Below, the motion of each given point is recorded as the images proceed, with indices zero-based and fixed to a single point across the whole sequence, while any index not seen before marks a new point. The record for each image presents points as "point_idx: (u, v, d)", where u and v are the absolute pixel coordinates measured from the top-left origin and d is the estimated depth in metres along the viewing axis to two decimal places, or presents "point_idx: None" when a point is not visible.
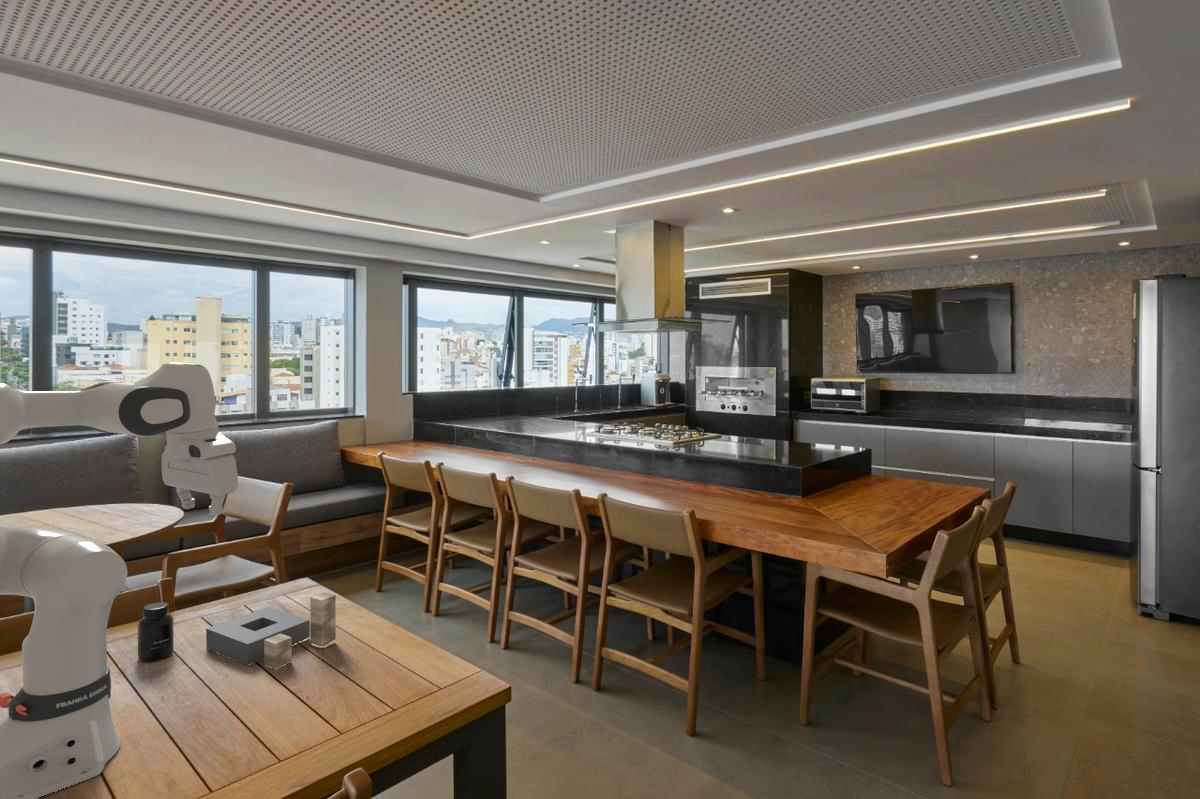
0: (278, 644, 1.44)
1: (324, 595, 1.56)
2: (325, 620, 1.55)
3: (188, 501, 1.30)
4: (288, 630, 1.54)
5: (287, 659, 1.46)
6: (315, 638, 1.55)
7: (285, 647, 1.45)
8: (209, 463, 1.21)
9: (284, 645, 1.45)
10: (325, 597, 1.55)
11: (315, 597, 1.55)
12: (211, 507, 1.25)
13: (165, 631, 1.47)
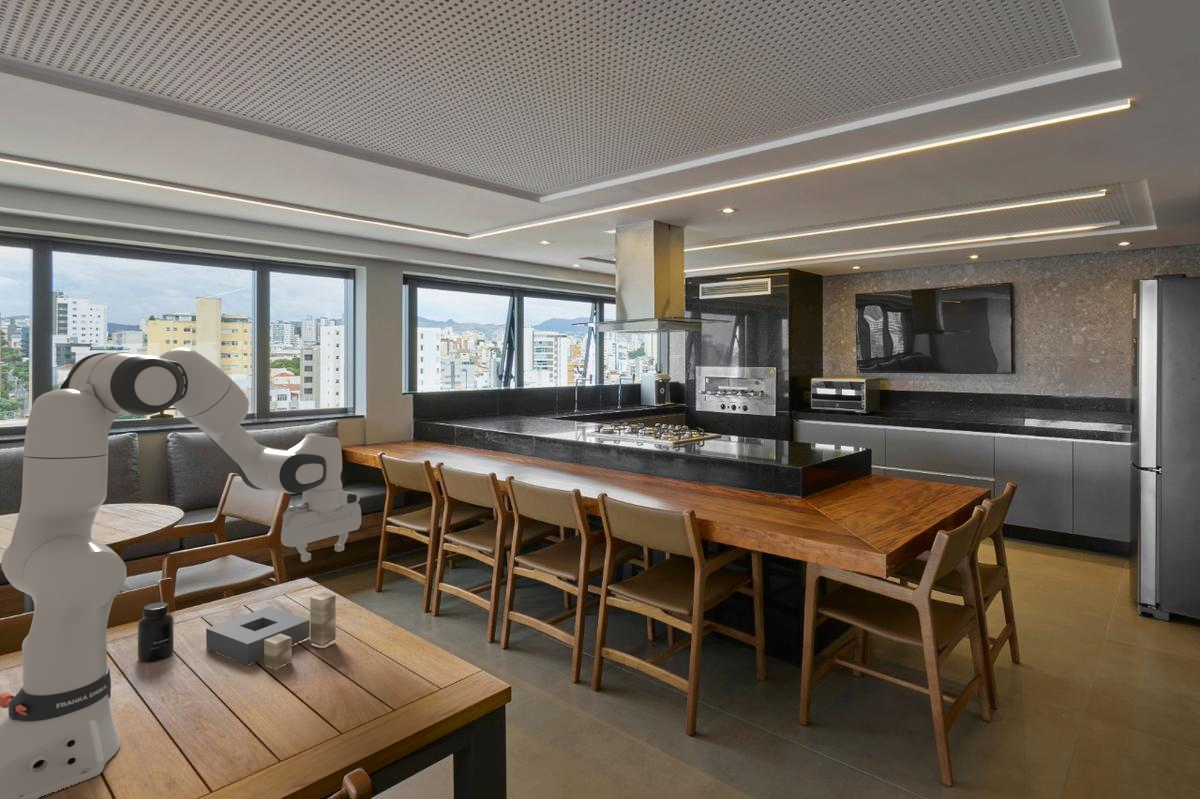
0: (278, 644, 1.44)
1: (324, 595, 1.56)
2: (325, 620, 1.55)
3: None
4: (288, 630, 1.54)
5: (287, 659, 1.46)
6: (315, 638, 1.55)
7: (285, 647, 1.45)
8: None
9: (285, 645, 1.45)
10: (325, 597, 1.55)
11: (315, 597, 1.55)
12: (342, 544, 1.59)
13: (165, 631, 1.47)
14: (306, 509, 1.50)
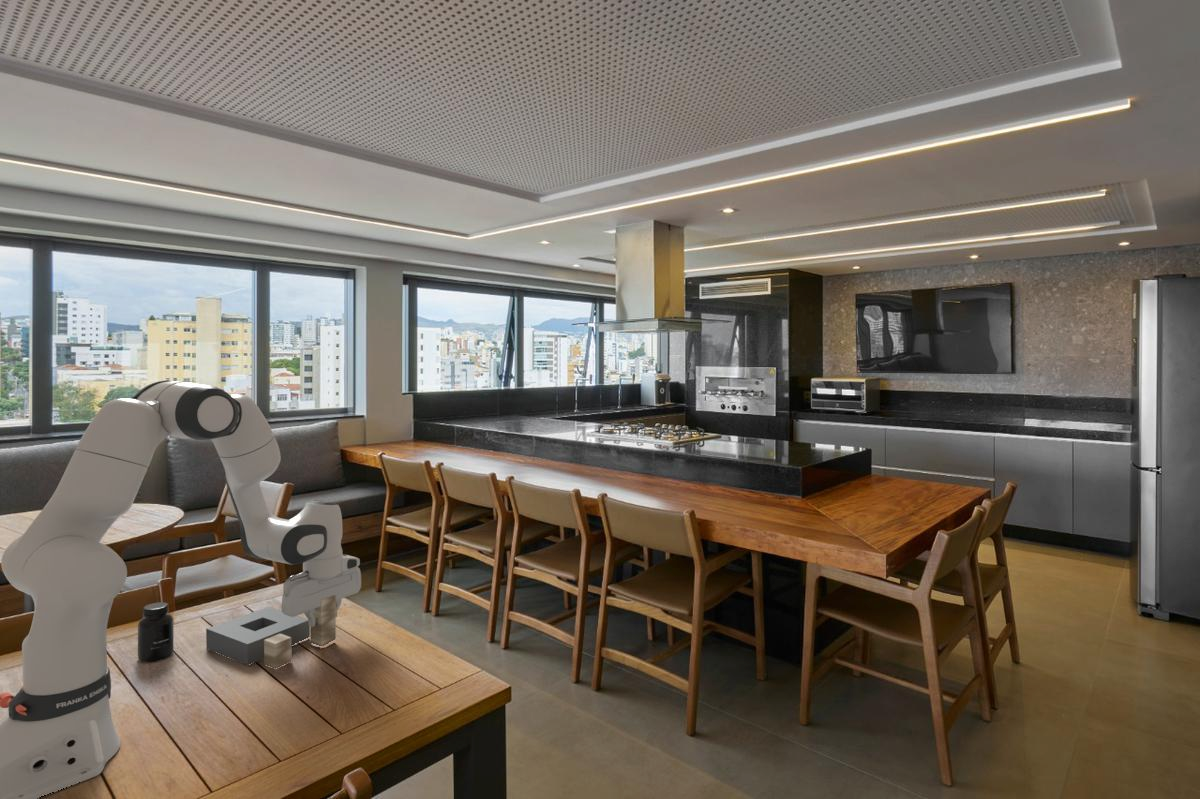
0: (278, 644, 1.44)
1: None
2: (325, 620, 1.55)
3: None
4: (288, 630, 1.54)
5: (287, 659, 1.46)
6: (315, 638, 1.55)
7: (285, 647, 1.45)
8: (358, 568, 1.62)
9: (284, 645, 1.45)
10: None
11: None
12: None
13: (165, 631, 1.47)
14: (306, 577, 1.51)
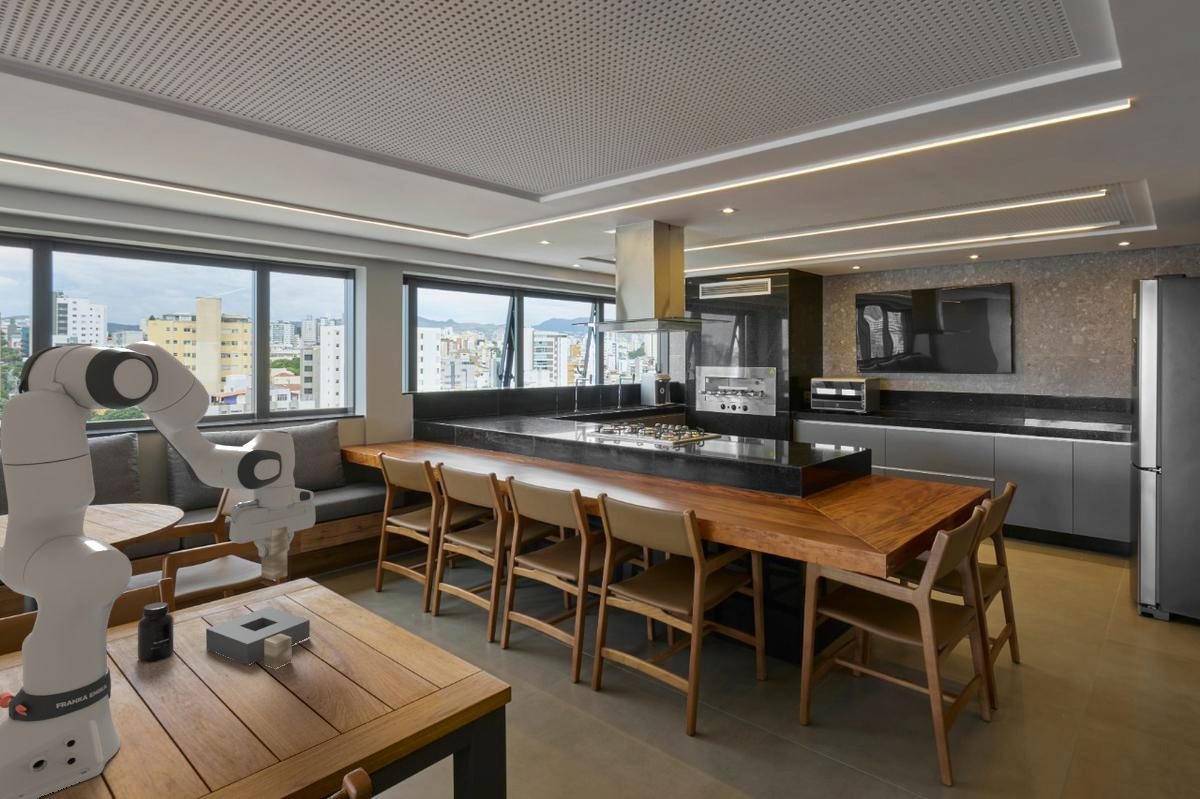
0: (278, 644, 1.44)
1: None
2: (276, 551, 1.53)
3: None
4: (288, 630, 1.54)
5: (287, 659, 1.46)
6: (266, 569, 1.53)
7: (285, 647, 1.45)
8: (312, 502, 1.60)
9: (284, 644, 1.45)
10: None
11: None
12: (287, 544, 1.56)
13: (165, 631, 1.47)
14: (256, 506, 1.50)
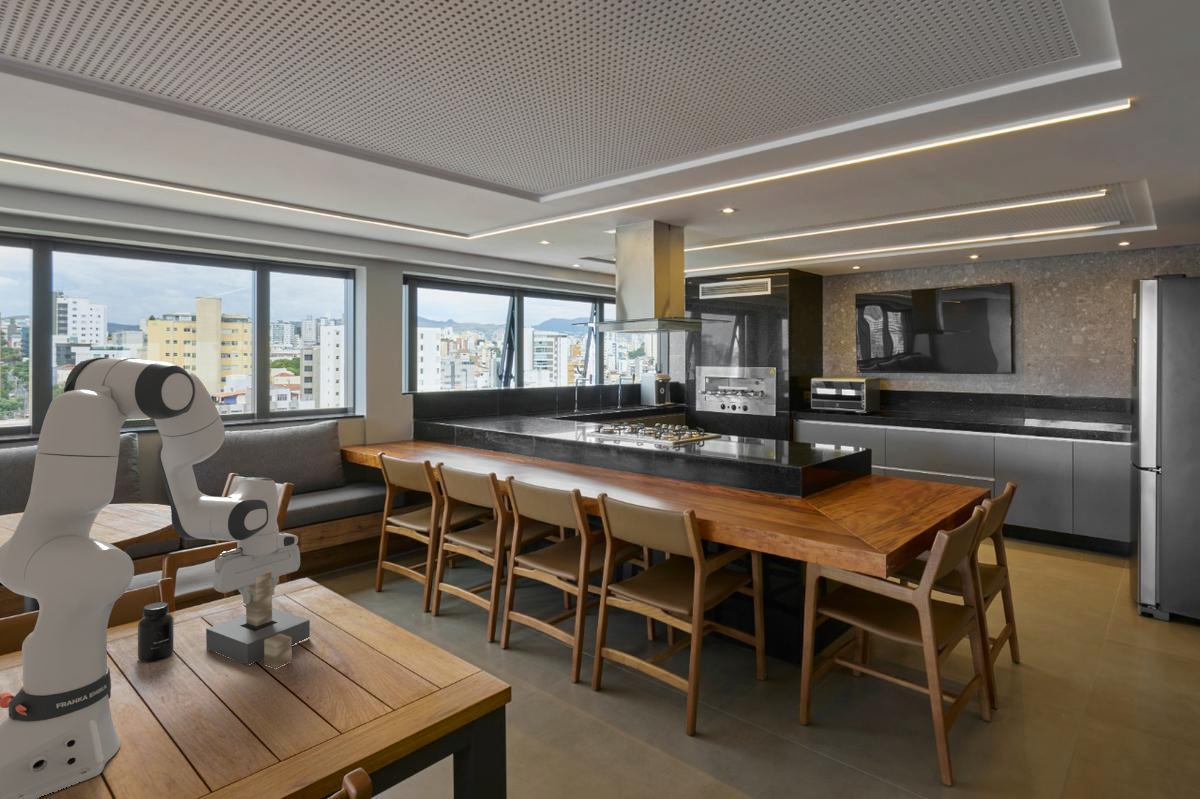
0: (278, 644, 1.44)
1: None
2: (261, 598, 1.54)
3: None
4: (288, 630, 1.54)
5: (287, 659, 1.46)
6: (250, 615, 1.54)
7: (285, 647, 1.45)
8: (297, 546, 1.61)
9: (285, 645, 1.45)
10: None
11: None
12: (272, 589, 1.57)
13: (165, 631, 1.47)
14: (240, 554, 1.50)
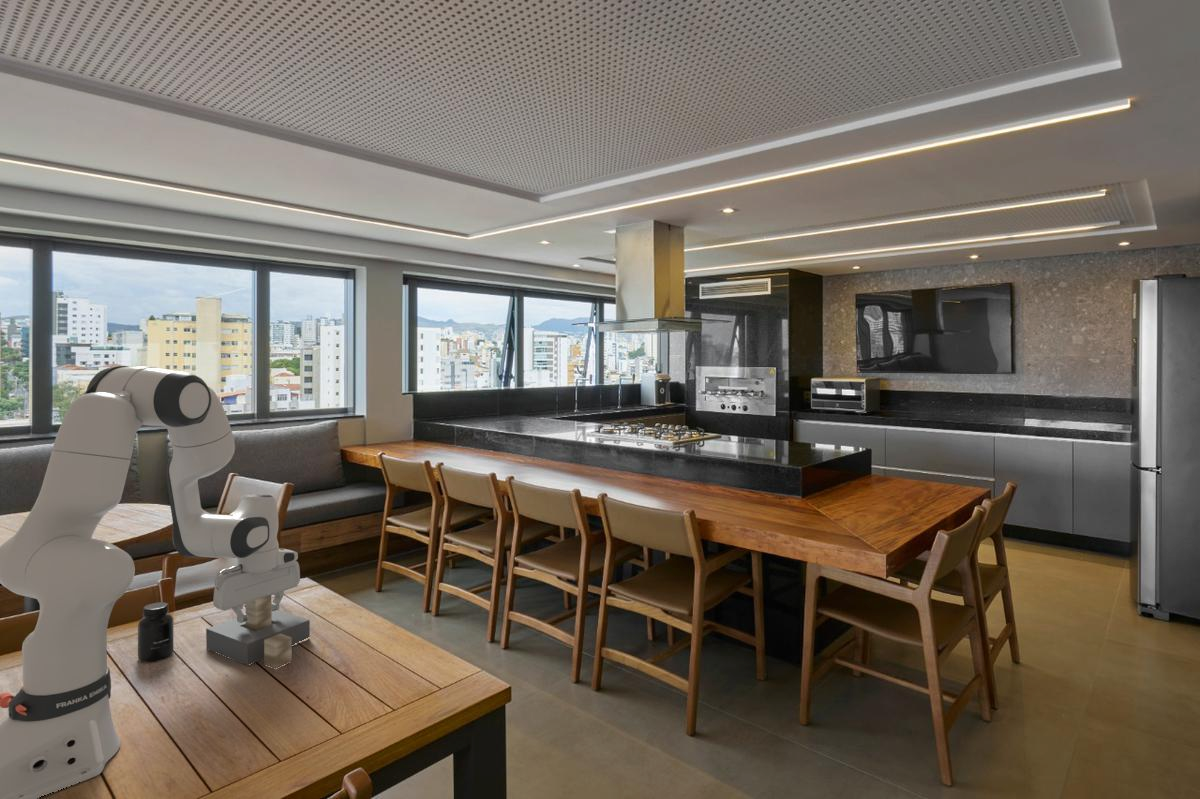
0: (278, 644, 1.44)
1: None
2: (260, 620, 1.54)
3: None
4: (288, 630, 1.54)
5: (287, 659, 1.46)
6: None
7: (285, 647, 1.45)
8: (297, 562, 1.61)
9: (285, 645, 1.45)
10: None
11: None
12: (277, 604, 1.59)
13: (165, 631, 1.47)
14: (240, 571, 1.50)
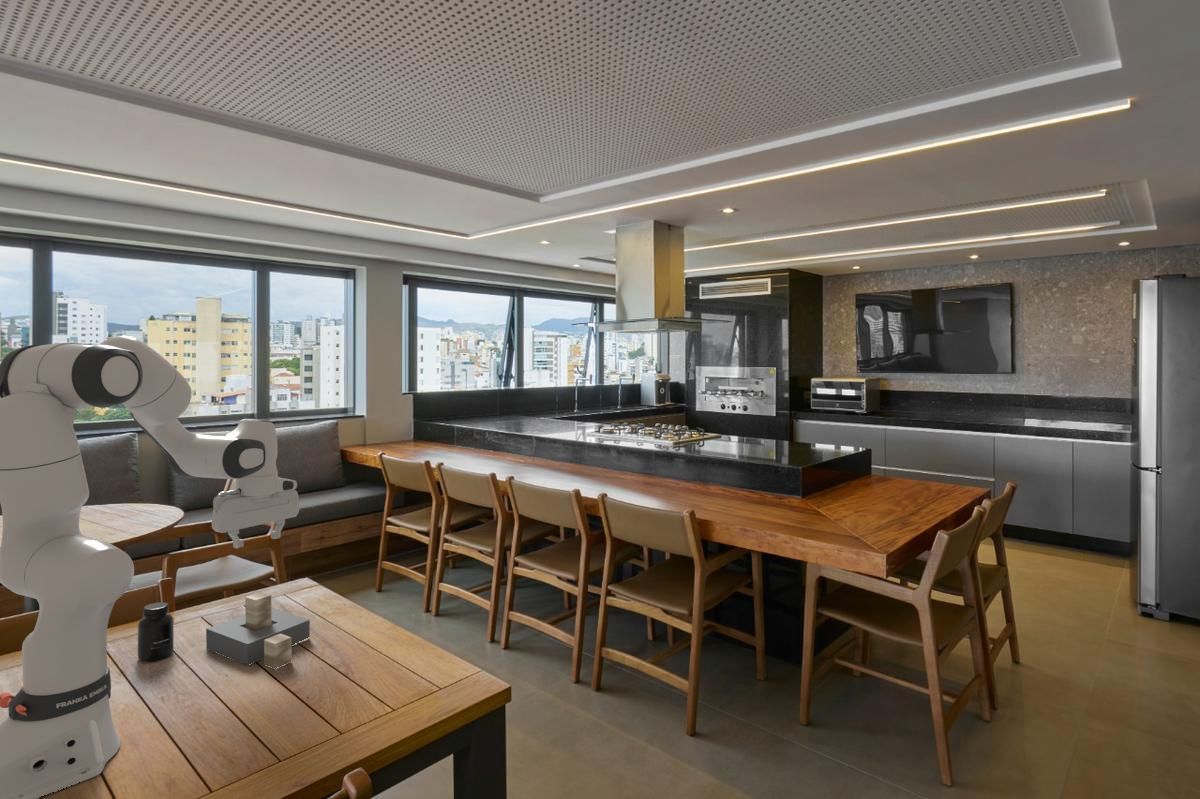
0: (278, 644, 1.44)
1: (260, 595, 1.55)
2: (260, 620, 1.54)
3: None
4: (288, 630, 1.54)
5: (287, 659, 1.46)
6: None
7: (285, 647, 1.45)
8: (296, 491, 1.60)
9: (284, 645, 1.45)
10: (260, 597, 1.54)
11: (250, 597, 1.54)
12: (278, 531, 1.58)
13: (165, 631, 1.47)
14: (238, 495, 1.49)
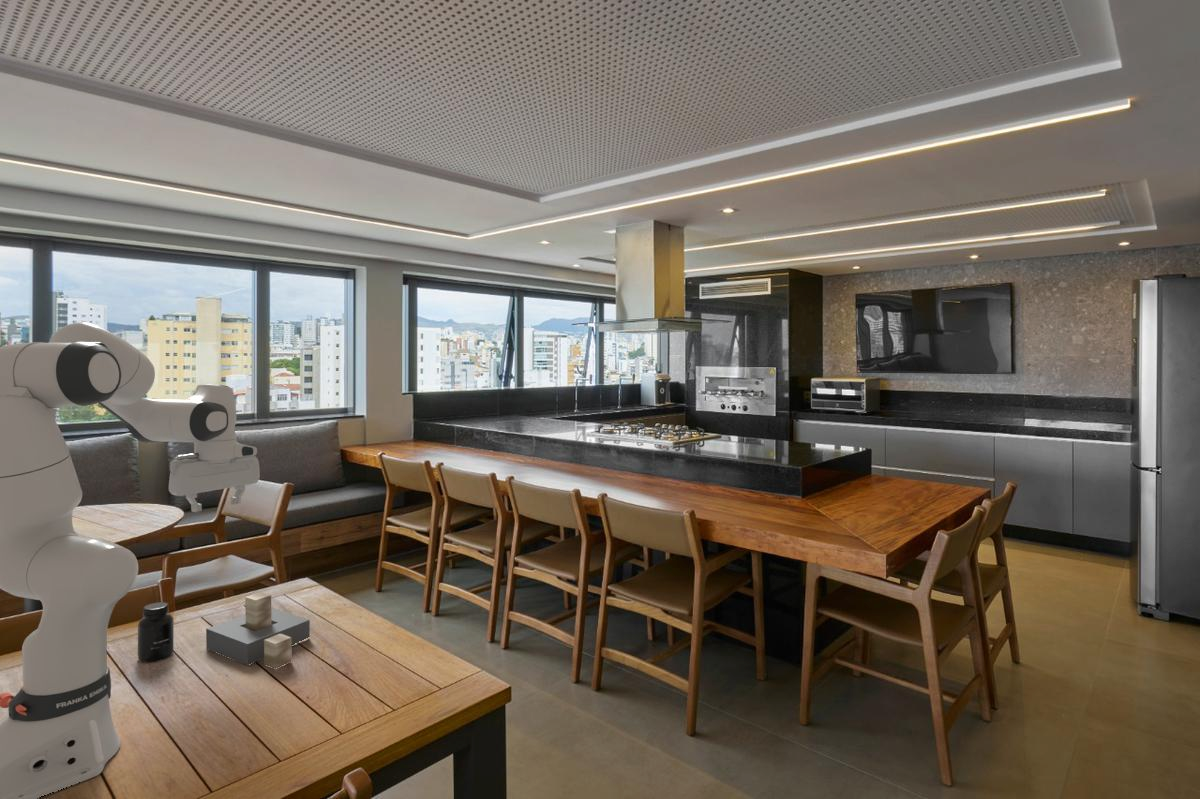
0: (278, 644, 1.44)
1: (259, 595, 1.55)
2: (260, 620, 1.54)
3: None
4: (288, 630, 1.54)
5: (287, 659, 1.46)
6: None
7: (285, 647, 1.45)
8: (256, 458, 1.61)
9: (284, 645, 1.45)
10: (260, 597, 1.54)
11: (250, 597, 1.54)
12: (238, 497, 1.59)
13: (165, 631, 1.47)
14: (196, 459, 1.50)
